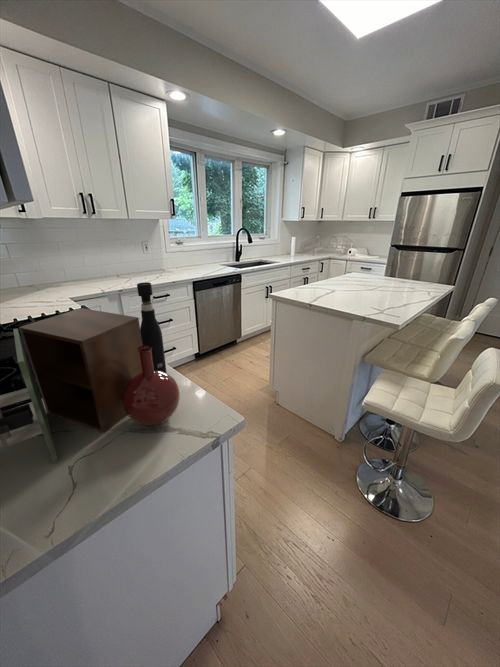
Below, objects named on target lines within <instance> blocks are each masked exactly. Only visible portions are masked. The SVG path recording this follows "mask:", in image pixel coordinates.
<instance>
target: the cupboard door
mask: <svg viewBox="0 0 500 667" xmlns="http://www.w3.org/2000/svg"><path fill="white" fill-rule="evenodd" d="M12 330H13V338H14V344H15V345H14V346H15V351H16V358H17V360H16V361H17V364H18V366H19V370H20V372H21V376H22V378H23V381H24V384H25V387H26V388H25V387H24V388H22V389H18V390H15V391H12V392H8V393H4V394H1V395H0V419H1V418H4V417H3V415H2V412H3V411H2V410H1V408H4V407H7V406H10V405H13V404H17V403H20V402H23V401H27V400H30V401H31V403H32V407H33V410H34V412H35V415H36V419H37V420H38V423H35V424H31V425H30V426H26V427H24V428H22V429H21V428H20V429H18V430H15V431H13V432H11V431H9V432H7V433H4V434H1V435H0V443H1V445H2V447H4V448H6V447H9V446H12V445H15V444H18V443H21V442H23V441H26V440H29V439H31V438H33V437H37V436H40V435H41V434H42V435H43V437H44V440H45V443H46V446H47V449H48V451H49V454H50V457H51V460H52V463H53V464H55V463H58V462H59V459H58V455H57V451H56V447H55V443H54V438H53V434H52V430H51V426H50V422H49V418H48V415H47V414H48V413H47V410H46V407H45V404H44V402H43V399H42V396H41V393H40V390H39V387H38V384H37V381H36V378H35V375H34V372H33V369H32V366H31V363H30V360H29V357H28V354H27V351H26V348H25V345H24V342H23V339H22V336H21V333H20V330H19V327H18V328H13V329H12Z"/></svg>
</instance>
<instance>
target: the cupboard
mask: <svg viewBox="0 0 500 667" xmlns="http://www.w3.org/2000/svg"><path fill="white" fill-rule="evenodd" d="M139 319H140V318H139V317H138V316H132V315H126V314H120V313H115V312H109V311H108V312H107V311H101V310H95V309H89V308H83V307H80V308H76V309H73V310H71V311H67V312H64V313H61V314H57V315H54V316H51V317H47V318H45V319H41V320H37V321H35V322H31V323H28V324H24V325H22V326H18V331H19V333H20V336H21V339H22V342H23V345H24V348H25V351H26V354H27V357H28V360H29V363H30V366H31V369H32V372H33V375H34V378H35V381H36V384H37V387H38V390H39V393H40V396H41V399H42V402H43V405H44V408H45V411H46V414H50V415H52V416H55V417H58V418H61V419H64V420H67V421H69V422H71V423H74V424H77V425H80V426H82V427H85V428H89V429H91V430H94V431H97V432H100V433H102V434H106V433H107V432H108V431H110V430H111V429H112V428H113V427H114V426H116V425H117V424H118V423H120V422H121V421H122V420H123V419H125V418H126V417H128V415H127V413H126V412H125V410H124V406H123V393H124V390H125V388H126V386H127V384H128V383H129V381H130V380H131V379H132V378H133V377H135V376H136V375H138V374H139V373H141V372H142V366H141V360H140V354H139V352H138V348H139V347H140V346H143V344H142V338H141V331H140V327H141V324H140V320H139Z"/></svg>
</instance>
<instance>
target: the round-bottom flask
mask: <svg viewBox="0 0 500 667" xmlns="http://www.w3.org/2000/svg"><path fill="white" fill-rule="evenodd" d="M151 350H152V346H150V345H144V346H140V347H139V348H138V352H139V354H140V360H141V366H142V372H141V373H139V374H138V375H136V376H135V377H133V378H132V379H131V380H130V381H129V383H128V384H127V386H126V388H125V390H124V393H123V406H124V410H125V412H126V413H127V417H129V419H130V420H132V421H133V422H135V423H136V424H138V425H142V426H147V427H149V426H157V425H160V424H163V423H164V422H166V421H168V420H169V419H170V418H171V417H172V416H173V415H174V414H175V413H176V411H177V409H178V407H179V404H180V399H181V392H180V387H179V385H178V382H177V381H176V380H175V379H174V378H173V377H172V375H170V374H168V372H167V373H165V372H162V371H158V370H154V366H153V359H152V352H151Z"/></svg>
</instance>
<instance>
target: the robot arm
mask: <svg viewBox="0 0 500 667" xmlns="http://www.w3.org/2000/svg"><path fill="white" fill-rule="evenodd" d="M1 412H2V415H3V417H4V418H1V419H0V435H1V434H4V433H7V432H12V431H14V430H15V431H16V430H17V429H18V430H19V429H21V428H23V427H24V428H25V427H27V426H29V425H33V424H34V423H35V422H34V418H33V417H34V414H33V411H32V408H31V405H30V403H26V404H23V405H18V406H17V407H13V408H10V409H6V410H3V411H1Z"/></svg>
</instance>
